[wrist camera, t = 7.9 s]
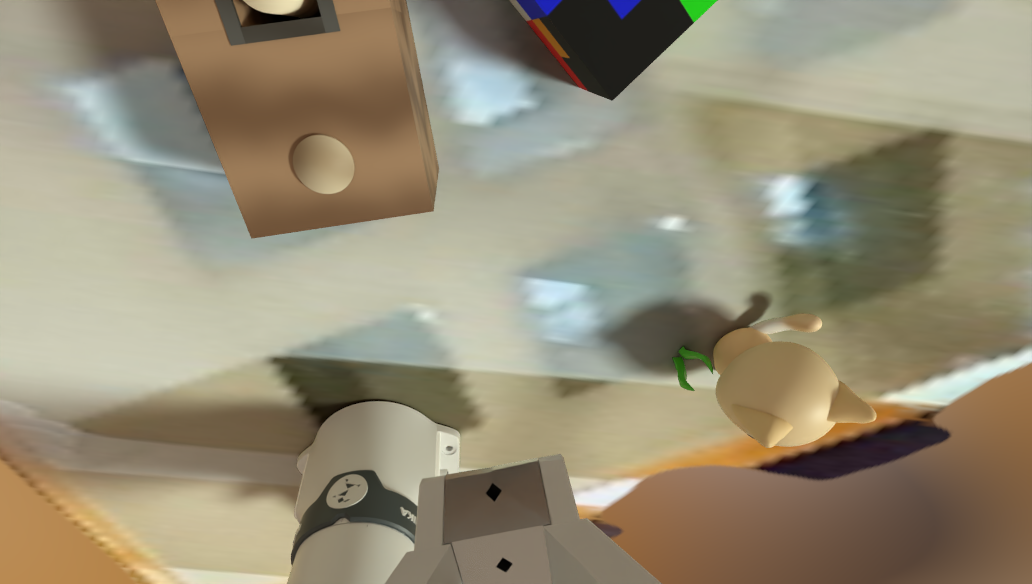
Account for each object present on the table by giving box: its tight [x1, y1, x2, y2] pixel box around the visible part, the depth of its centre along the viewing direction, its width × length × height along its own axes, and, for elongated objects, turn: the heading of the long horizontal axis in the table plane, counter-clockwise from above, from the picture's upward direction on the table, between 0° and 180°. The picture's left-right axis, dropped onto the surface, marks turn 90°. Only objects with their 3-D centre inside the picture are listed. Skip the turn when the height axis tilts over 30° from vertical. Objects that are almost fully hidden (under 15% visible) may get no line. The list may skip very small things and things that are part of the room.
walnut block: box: [155, 0, 439, 238], centre depth 33 cm, size 18×12×12 cm, turn 7°
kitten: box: [672, 313, 876, 448], centre depth 49 cm, size 15×10×15 cm, turn 103°
